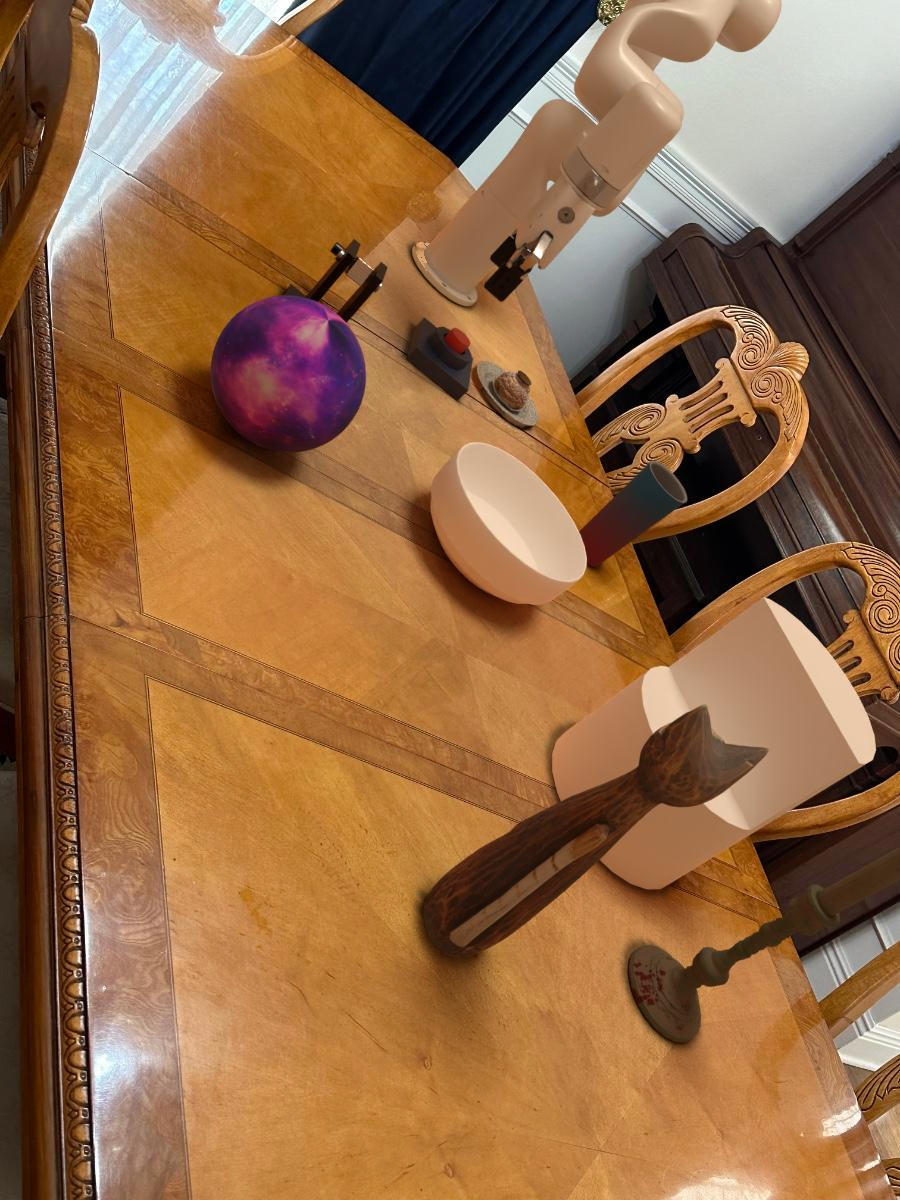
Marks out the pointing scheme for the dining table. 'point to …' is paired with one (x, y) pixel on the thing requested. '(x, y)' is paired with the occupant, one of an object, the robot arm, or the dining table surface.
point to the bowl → (505, 527)
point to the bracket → (335, 272)
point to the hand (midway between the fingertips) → (495, 279)
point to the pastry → (508, 393)
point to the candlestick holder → (742, 950)
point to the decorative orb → (288, 374)
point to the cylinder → (724, 738)
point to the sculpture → (577, 835)
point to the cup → (632, 512)
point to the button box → (440, 358)
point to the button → (457, 340)
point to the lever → (354, 267)
